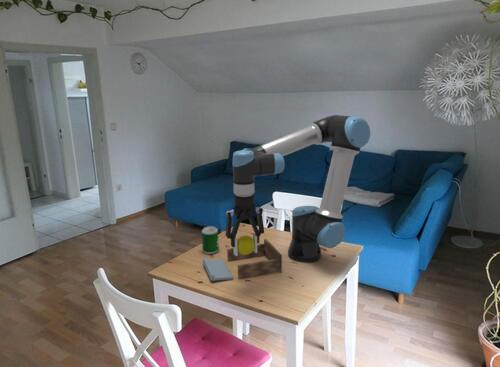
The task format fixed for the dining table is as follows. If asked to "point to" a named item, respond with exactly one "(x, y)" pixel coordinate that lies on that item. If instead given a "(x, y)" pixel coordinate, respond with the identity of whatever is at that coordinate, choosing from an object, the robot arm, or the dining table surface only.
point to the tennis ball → (245, 245)
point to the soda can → (210, 240)
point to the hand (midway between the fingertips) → (245, 252)
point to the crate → (258, 267)
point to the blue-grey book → (217, 269)
